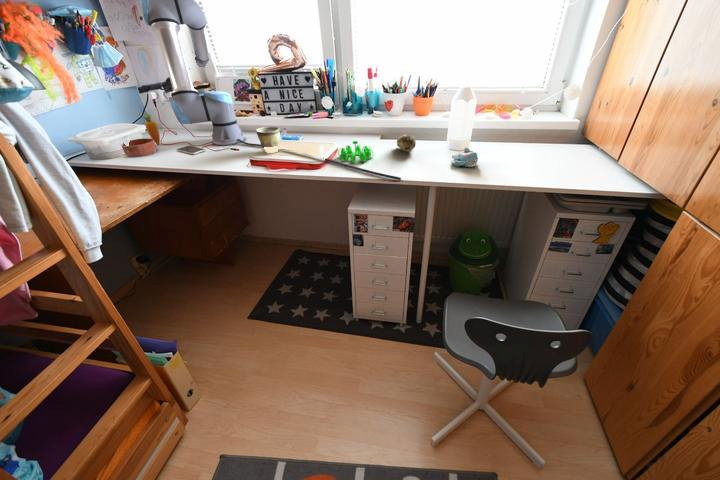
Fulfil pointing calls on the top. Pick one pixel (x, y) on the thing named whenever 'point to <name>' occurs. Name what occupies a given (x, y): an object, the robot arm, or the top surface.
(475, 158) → the stuffed animal
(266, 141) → the ceramic cup
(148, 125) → the carrot
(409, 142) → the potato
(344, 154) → the chandelier
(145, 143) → the bowl
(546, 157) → the top surface
